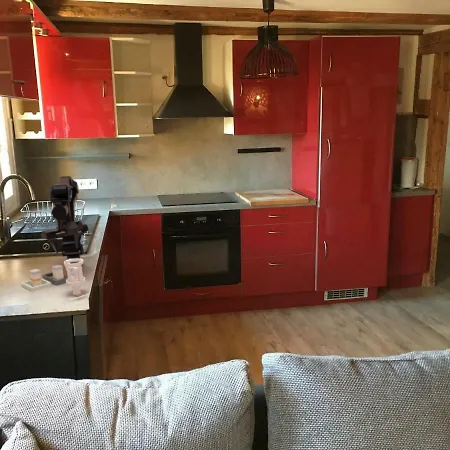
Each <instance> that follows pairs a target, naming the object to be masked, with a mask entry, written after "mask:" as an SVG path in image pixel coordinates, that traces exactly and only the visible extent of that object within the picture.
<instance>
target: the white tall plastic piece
mask: <svg viewBox="0 0 450 450" xmlns="http://www.w3.org/2000/svg"><path fill="white" fill-rule="evenodd" d="M70 262H78V263H73V264H70ZM83 264H85V263H84V259H83V258H80V259H79V258H76V259H69V260H67V259H65V260H64V261H63V266H64V267H65V270H66V273H67V274H66V275H67V278H68V279H67V280H66V283H65V284H66V285H68V286H71V288H72V295H75V298H80V297H82V288H81V287H82V286H81V285H82V284H85V283H86V277H85V276H84V275H83V266H82V265H83Z"/></svg>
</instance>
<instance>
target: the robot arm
mask: <svg viewBox="0 0 450 450" xmlns="http://www.w3.org/2000/svg"><path fill="white" fill-rule="evenodd" d="M49 189H50V190H49V193H50V194H49V195H50V198H49V199H50V201H49V203H50V204H54V207H53V208H52V209H51V216H52V217H53V218H54V220H56V224H57V225H56V227H55V228H56V230H52V229H45V230H42V231H41V233H40V236H41V239H44V240H46V241H48V242H49V244H50V245H51V246H52V248H53V250H54V252H55V253H56V254H59V247H58V242H57V241H58V238H56V237H57V236H58V235H59V236H61V235H62V239H61V240H62V242H61V243H60V248H61V255H62V257H66V260H69V259H76V258H79V259H81V256H82V255H84V254H85V250H84V245H83V244H82V242H81V240H82V237H83V236H84V235H85V234H86V233H87V232H89V231H90V230H89V225H88V224H86V223H83V221H82V220H78V221H76V209H75V206H76V205H75V203H76V201H77V200H78V198H79V195H78V194H79V193H80V190H79V184H78V182H77V181H76V180H74V179H73V178H72V176H70V175H65V176H59V181H58V182H57V184H52V185H51V187H50V188H49ZM73 263H78V262H70V264H73Z"/></svg>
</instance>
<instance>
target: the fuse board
mask: <svg viewBox="0 0 450 450" xmlns="http://www.w3.org/2000/svg"><path fill="white" fill-rule="evenodd" d="M41 278H42V279H44V280H47V281H49V282H51V284H52V285H54V286H56V287H58V286H62V285H64V284H66V280H67V279H68V276H67V277H66V276H64V279H60V280H54V279H53V271H51V272H48V273H45V274H42V275H41Z"/></svg>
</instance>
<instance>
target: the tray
mask: <svg viewBox="0 0 450 450" xmlns="http://www.w3.org/2000/svg"><path fill="white" fill-rule="evenodd" d="M41 283H42V285H39V286H35V287H32V286H31V280H26V281H23V282H21V283H20V284H21V287H22V288H24V289H26V290H27V291H30V292H31V293H33V292H37V291H40V290H44V289H47V288H52V285H53V284H51V282H49V281H47V280H44V279H43V277H41Z"/></svg>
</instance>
